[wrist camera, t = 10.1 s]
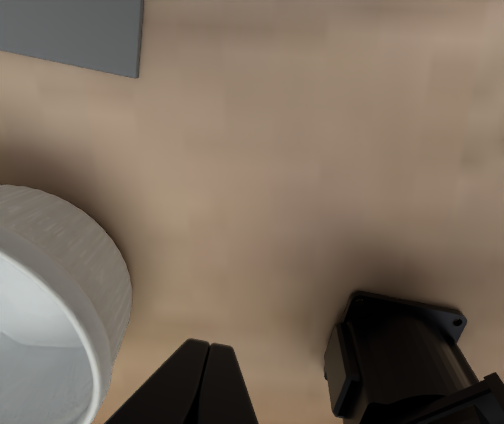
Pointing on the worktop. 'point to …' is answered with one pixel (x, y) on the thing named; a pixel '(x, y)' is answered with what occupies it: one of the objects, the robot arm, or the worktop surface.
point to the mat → (75, 32)
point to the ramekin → (57, 309)
